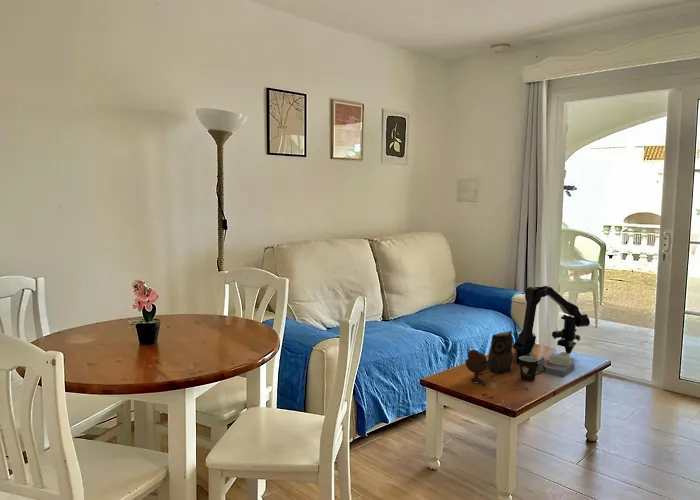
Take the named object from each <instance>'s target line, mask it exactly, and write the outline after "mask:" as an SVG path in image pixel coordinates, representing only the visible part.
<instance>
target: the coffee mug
mask: <svg viewBox="0 0 700 500" xmlns="http://www.w3.org/2000/svg"><path fill="white" fill-rule="evenodd" d="M538 359H539V358H537V357H535V356H520V357H519V364H518V365H519V375H520V380H522V381H525V382H534V381H535V380H536V376H537V375H540V374H542V373H544V371H545V366H546V365H544V363H543V364H538ZM539 365H542V366H543V367H544V370H543V371H542V372H540V371H539V372H537V371H536V369H537V367H538V366H539Z"/></svg>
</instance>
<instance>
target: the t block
mask: <svg viewBox="0 0 700 500" xmlns="http://www.w3.org/2000/svg"><path fill="white" fill-rule="evenodd" d="M548 359H549V361H548V363H550V364H553V365H554V364H555V365H559V366H563V367H567V366H568V365H570V364H571V363H573V362H572V361H573V357H572V356H571V353H566V351H565V352H564V351H561V352H560V353H558V354H557V353H556V354H555V353H551V354H549V358H548Z"/></svg>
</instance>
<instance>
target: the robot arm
mask: <svg viewBox="0 0 700 500" xmlns="http://www.w3.org/2000/svg"><path fill="white" fill-rule="evenodd" d="M547 296H548V297H549V298H550V299H551V300H552V301H553V302H555V303H556V305H558V306H559V307H560V309H561V311H562V312H563V313H564V314H563V315H562V316H560V319H561V320H563V328H562V329H561V330H555V331H552V333H551V337H552V338H553V339H558V338H559V340H557V344H556V345H557V346H559V347H564V350H565V353H570V354H571V353H572V352H573V350H574V348H575V346H576V345H577V342H579V341H581V335H579V334H576V332H577V329H576V327H577V328H581V327H589V326H590V324H591V321H590V318H589V316H588V314H587V313H581V312H580V310H579V306H577V305H576V304H574V303H571V302H570V301H568V300H566V299H565V298H564V297H563V296H562V295H560V294H559V293H558V292H557V291H556V290H555V289H554V288H553V287H551V286H548V285H544V286H534V287H533V286H528V287H527V288H525V291H524V299H525V302H526V305H525V313H524V314H525V315H524V320H523V326H522V330H521V331H522V332H521V331H520V332H521V333H520V334H519V337H518V336H517V340H516V341H515V343H514V342H513V346H512V349H514V351H515V352H514V358H513V361H514V362H515V363H516V364H517V365H520V364H519V357H520V356H530V354H529V353H531V350H532V348H533V346H534V344H535V345H536V339H537V336H536V335H535V336H534V335H533V333H534V331H533V330H534V325H535V317H536V312H537V305H538V304H540V302H541V300H542V298H545V297H547ZM575 340H577V342H575ZM522 347H523V348H522Z"/></svg>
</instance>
